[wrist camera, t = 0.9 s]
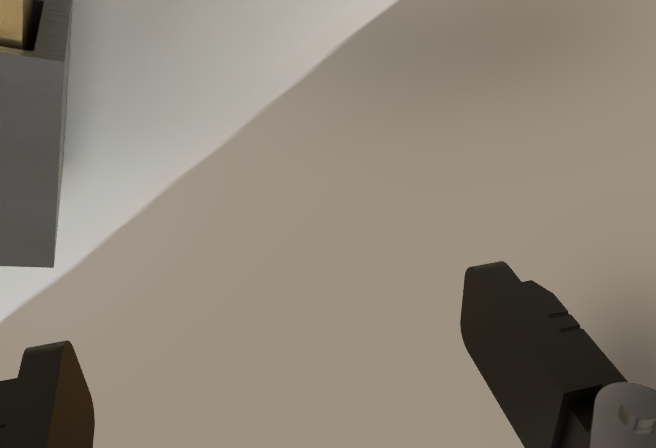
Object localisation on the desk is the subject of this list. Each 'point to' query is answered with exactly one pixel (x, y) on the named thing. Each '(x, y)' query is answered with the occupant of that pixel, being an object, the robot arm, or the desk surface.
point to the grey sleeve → (33, 137)
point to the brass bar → (16, 24)
